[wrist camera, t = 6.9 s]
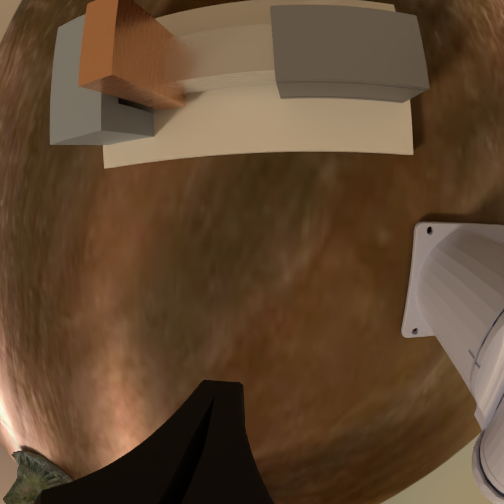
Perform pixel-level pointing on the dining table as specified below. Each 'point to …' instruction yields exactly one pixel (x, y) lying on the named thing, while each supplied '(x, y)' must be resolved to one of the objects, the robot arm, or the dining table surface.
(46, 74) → the dining table surface
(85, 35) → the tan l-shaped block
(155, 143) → the cream rectangular panel
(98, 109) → the socket block
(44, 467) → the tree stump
